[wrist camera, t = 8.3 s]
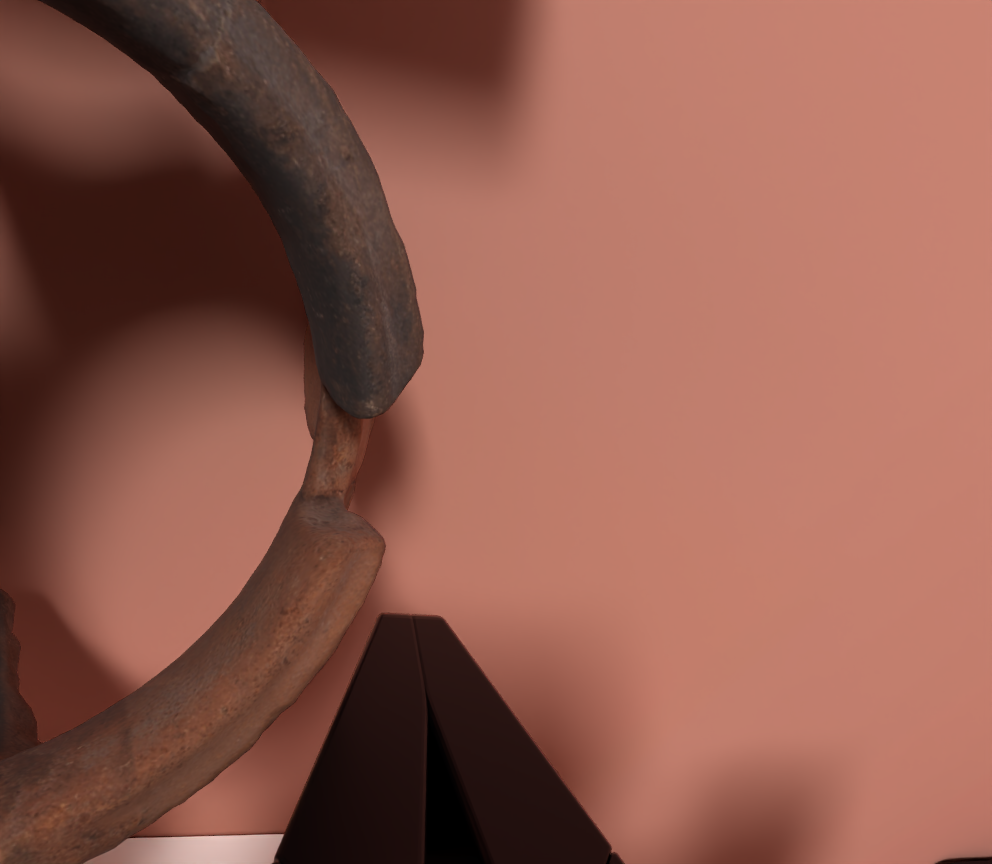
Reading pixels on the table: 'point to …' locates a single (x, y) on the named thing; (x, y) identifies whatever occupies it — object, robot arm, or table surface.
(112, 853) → the frame
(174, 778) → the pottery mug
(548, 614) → the table surface
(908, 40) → the table surface
